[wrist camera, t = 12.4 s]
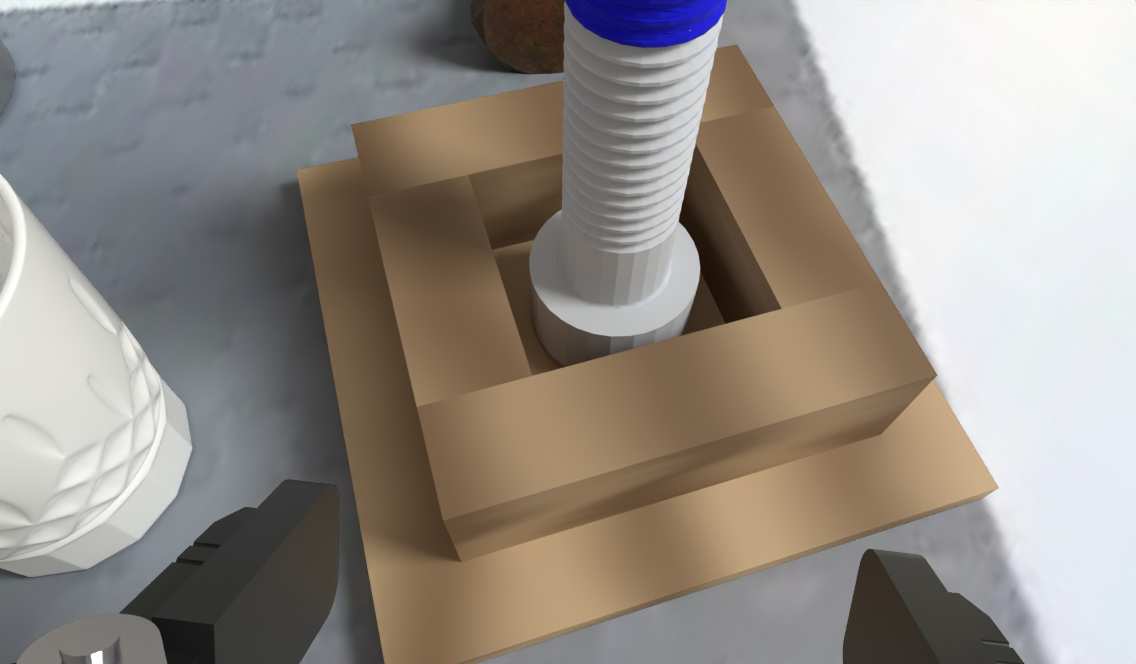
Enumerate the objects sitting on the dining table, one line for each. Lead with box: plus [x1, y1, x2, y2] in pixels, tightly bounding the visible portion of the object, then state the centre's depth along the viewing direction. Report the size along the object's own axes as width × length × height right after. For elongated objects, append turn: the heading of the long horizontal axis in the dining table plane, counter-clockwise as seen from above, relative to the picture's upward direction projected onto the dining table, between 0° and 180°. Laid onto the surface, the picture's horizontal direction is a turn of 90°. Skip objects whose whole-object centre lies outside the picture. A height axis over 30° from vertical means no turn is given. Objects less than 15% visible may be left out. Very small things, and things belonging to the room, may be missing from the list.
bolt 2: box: [529, 0, 727, 367], centre depth 19 cm, size 16×5×5 cm
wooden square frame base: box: [297, 44, 999, 664], centre depth 24 cm, size 18×18×5 cm
